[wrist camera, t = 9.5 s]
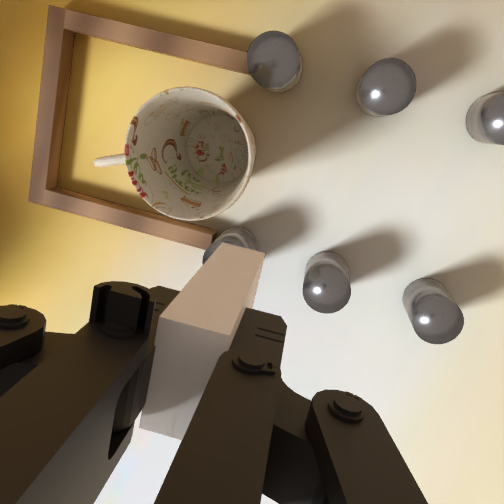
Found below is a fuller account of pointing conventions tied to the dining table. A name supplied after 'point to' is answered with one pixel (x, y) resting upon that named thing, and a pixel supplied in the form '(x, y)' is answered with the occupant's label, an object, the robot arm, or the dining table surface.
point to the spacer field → (376, 104)
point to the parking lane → (54, 108)
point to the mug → (187, 153)
